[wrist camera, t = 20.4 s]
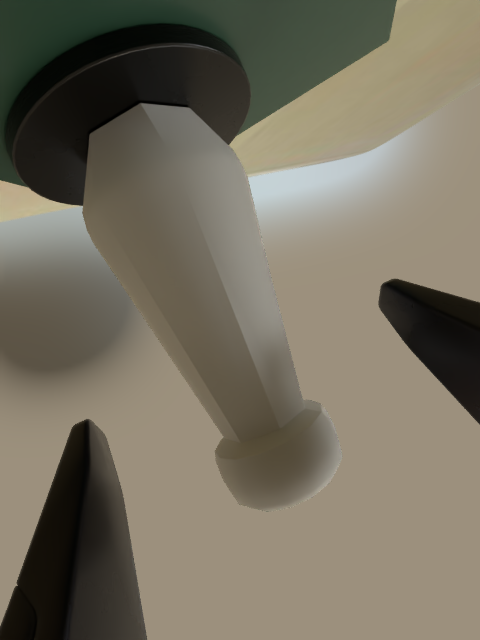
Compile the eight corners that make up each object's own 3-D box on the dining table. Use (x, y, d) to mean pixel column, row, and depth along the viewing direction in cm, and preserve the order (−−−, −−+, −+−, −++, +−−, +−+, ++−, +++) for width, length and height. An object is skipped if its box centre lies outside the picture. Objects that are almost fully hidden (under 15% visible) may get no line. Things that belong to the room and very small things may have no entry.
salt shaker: (205, 164, 16) (321, 428, 16) (77, 204, 14) (206, 493, 15) (234, 60, 10) (412, 468, 10) (29, 108, 9) (240, 581, 9)
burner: (-64, 158, 10) (-54, 178, 10) (182, -55, 7) (194, -27, 7) (118, 206, 18) (123, 218, 18) (267, 113, 15) (273, 127, 15)
